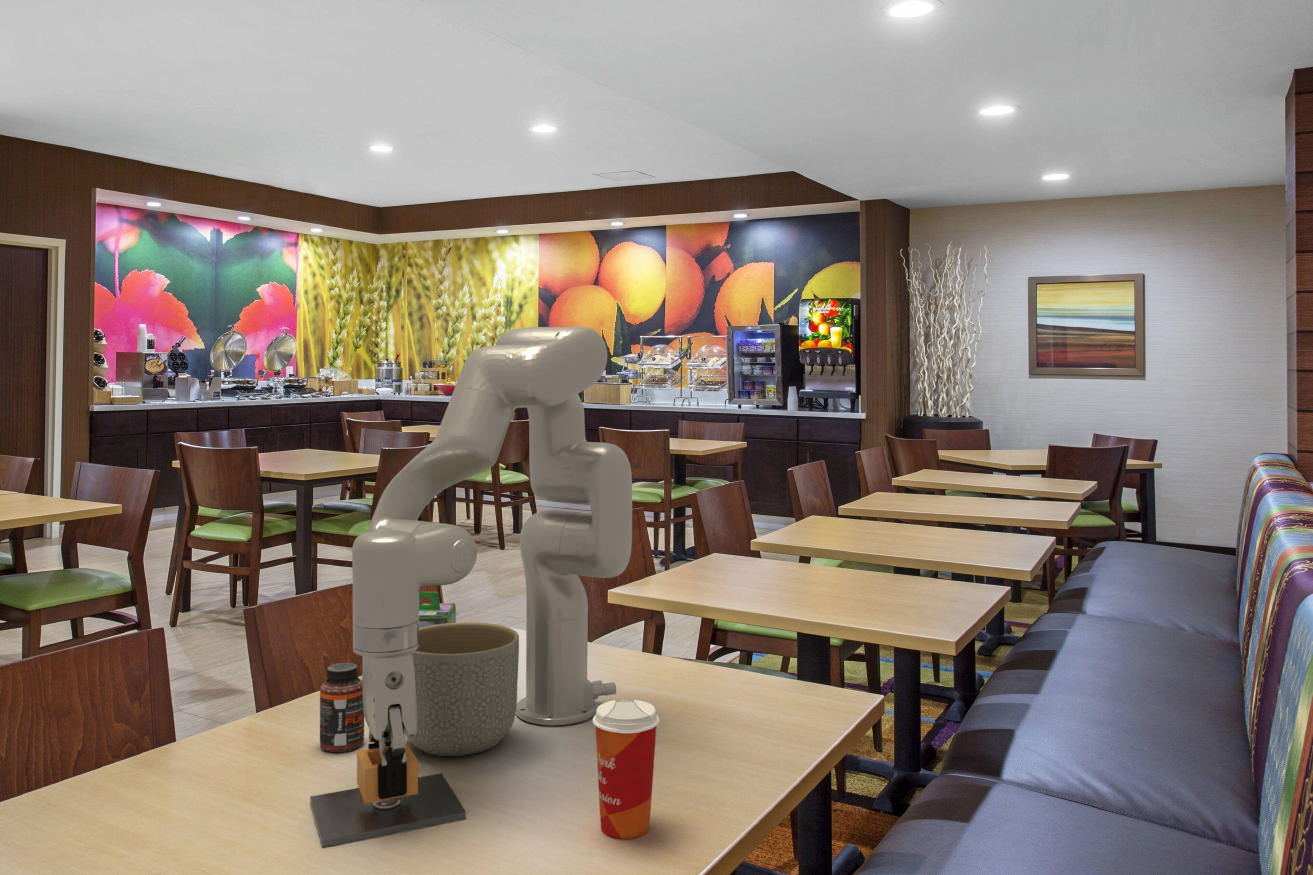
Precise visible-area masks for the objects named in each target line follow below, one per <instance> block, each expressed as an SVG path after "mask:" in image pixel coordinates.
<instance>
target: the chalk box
mask: <svg viewBox="0 0 1313 875" xmlns="http://www.w3.org/2000/svg"><path fill="white" fill-rule="evenodd" d="M423 598H427V599H430V600H431V603H421V601H420V600H421V599H423ZM456 611H457V610H456V603H455V602H445V603H444V602H442V603H441V602H440V594H439V592H438V591H419V628H421V627H426V626H431V625H437V624H446V623H457V613H456Z"/></svg>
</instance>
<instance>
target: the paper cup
mask: <svg viewBox="0 0 1313 875" xmlns="http://www.w3.org/2000/svg"><path fill="white" fill-rule="evenodd" d="M659 723H660V718H659V716H658V714H657V709H656V708H655V706H654V705H653V704H652V703H649V702H647V701H643V700H638V699H634V700H633V701H630V699H625V700H623V699H621V700H619V701H616V700H615V699H613V700H610V701H605V702H603V703H602V704H600V705H598V706H597V710H596V713H595V714H594V716H593V717H592V724H593V725H594V726H595V742H596V763H597V764H596V765H597V782H598V804H599V816H600V817H599V818H600V828H601V832H602V833H603V834H604V835H606V836H607V837H610V838H612V839H618V840H632V839H636V838H637V839H638V838H640V837H642V836H645V834H646V833H648V831H649V828H650V820H651V810H652V809H651V808H652V799H653V798H652V796H653V781H654V779H653V778H654V770H655V768H654V767H655V766H654V764H655V751H656V750H655V749H656V740H657V739H656V738H657V726H658V725H659Z"/></svg>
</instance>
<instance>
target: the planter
mask: <svg viewBox="0 0 1313 875" xmlns="http://www.w3.org/2000/svg"><path fill="white" fill-rule="evenodd" d="M519 646H520V635H519V634H518V631H516V630H515V629H512V628H510V627H507V626H504V625H502V624H494V623H487V622H473V621H472V622H467V621H466V622H465V621H464V622H456V623H446V624H437V625H431V626H426V627H421V628H419V647H418V649H417V650H415V651H413V652H412V654H413V660H414V669H415V681H416V701H417V723H418V732H417V734H416V735H415V736H411V735H408V733H407V732H406V730H405V728H404V734H405V738H407V740H408V741H409V742H410V743H411V744H412V745H414V746H415V747H416V748H418V749H419V750H421V751H422V752H424V753H427V754H430V755H433V756H439V757H447V758H449V757H453V758H454V757H465V756H471V755H475V754H479V753H483V752H485V751H487V750H490V749H491V748H493V747H494V746H496V745H497V744H498V743H500V741H502V740H503V739H504V738H505V737H506V736H507V734H508V733H509V732H510V730H511V728H512V727H513V725H514V721H515V718H516V715H517V714H516V705H517V703H518V681H519V680H518V678H519V660H520V659H519V658H520V657H519V653H520V647H519Z"/></svg>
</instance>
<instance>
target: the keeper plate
mask: <svg viewBox="0 0 1313 875" xmlns="http://www.w3.org/2000/svg"><path fill="white" fill-rule="evenodd" d="M379 764H381V762H380V763H379ZM309 797H310V798H309V801H310V803H309V804H310V806H311V810H312V813H313V814H312V815H313V818H314V822H315V825H316V829H317V833H318V837H319V840H320V843H321V848H326V847H332V846H338V845H341V844H342V845H343V844H347V843H352V842H356V841H362V840H367V839H371V838H375V837H376V838H377V837H382V836H387V835H391V834H397V833H402V832H405V831H412V830H417V829H421V828H427V827H431V826H436V825H442V824H446V823H452V822H456V821H460V820H461V821H462V820H465V819H467V812H466V810H465V808H464V807H463V805H462V804H461V802H460V800H459V799H458V797H457V795H456V794H455V792H454V790H453V789H452V787H451V786H450V784H449V782H448V781H447V779H446V777H445V776H444V774H443V773H442V772H440V773H436V774H429V775H425V776H420V777H418V794H414V795H409V796H404V797H398V798H393V799H388V800H382V801H377V802H371V803H366V804H365V802H364V799H363V797H362V794H361V792H360V789H359V787H357V788H351V789H345V790H341V791H334V792H328V793H323V794H322V793H321V794H317V795H311V796H309Z"/></svg>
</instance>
